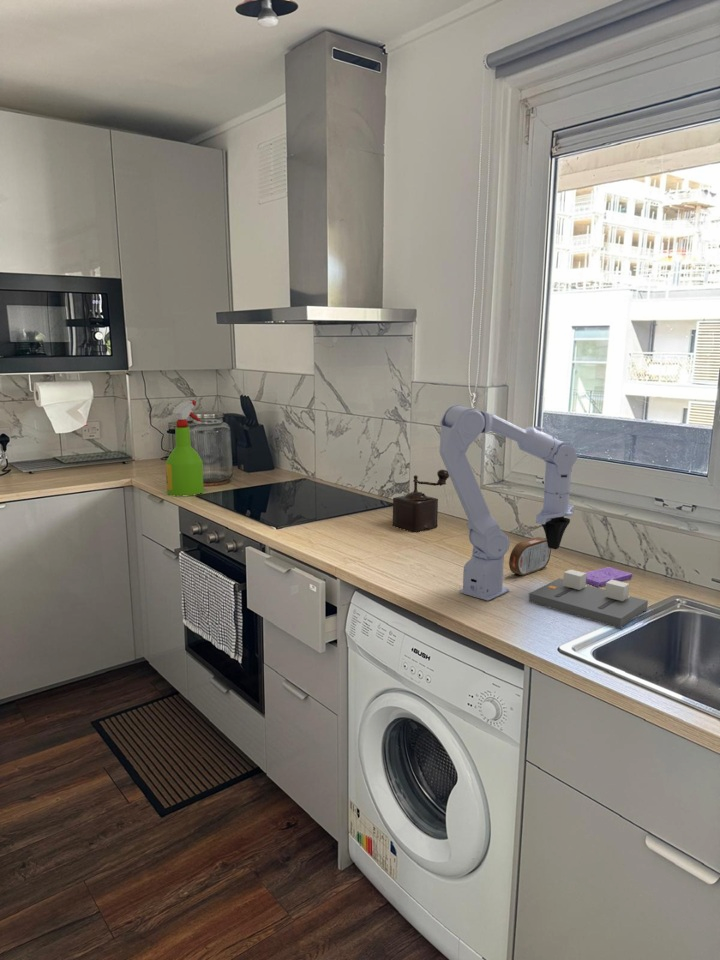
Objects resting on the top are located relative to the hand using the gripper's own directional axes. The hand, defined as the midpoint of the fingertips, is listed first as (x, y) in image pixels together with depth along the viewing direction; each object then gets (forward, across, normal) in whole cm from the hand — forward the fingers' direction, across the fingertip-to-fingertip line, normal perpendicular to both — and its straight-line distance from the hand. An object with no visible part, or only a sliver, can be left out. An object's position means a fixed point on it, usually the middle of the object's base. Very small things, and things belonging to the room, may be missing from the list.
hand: (553, 548), depth 164 cm
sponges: (+10, +14, -7) cm, 19 cm away
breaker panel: (+9, -6, -12) cm, 16 cm away
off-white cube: (+7, -2, -7) cm, 10 cm away
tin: (+10, +6, +9) cm, 15 cm away
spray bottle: (+10, -1, +153) cm, 153 cm away
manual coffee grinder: (+10, +22, +57) cm, 62 cm away
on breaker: (+7, -3, -17) cm, 19 cm away
